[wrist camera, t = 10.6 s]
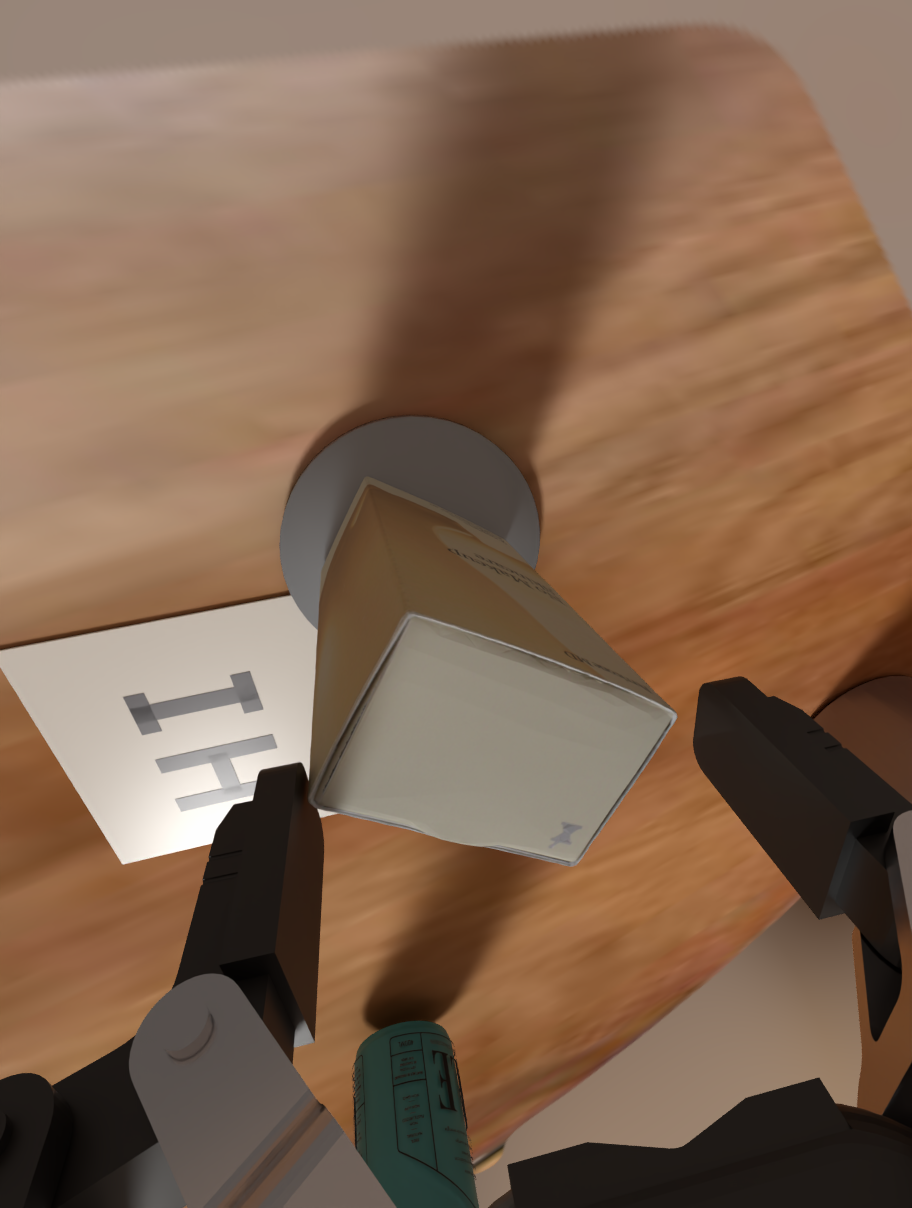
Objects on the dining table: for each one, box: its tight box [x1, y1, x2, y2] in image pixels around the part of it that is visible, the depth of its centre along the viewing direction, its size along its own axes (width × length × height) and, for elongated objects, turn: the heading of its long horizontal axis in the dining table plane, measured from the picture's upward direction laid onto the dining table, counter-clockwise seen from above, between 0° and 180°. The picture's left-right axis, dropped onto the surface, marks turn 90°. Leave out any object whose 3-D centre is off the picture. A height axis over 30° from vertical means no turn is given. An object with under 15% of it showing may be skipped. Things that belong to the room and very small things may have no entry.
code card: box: [0, 595, 338, 864], centre depth 24 cm, size 12×12×1 cm
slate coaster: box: [280, 415, 540, 630], centre depth 22 cm, size 10×10×1 cm
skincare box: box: [307, 477, 677, 866], centre depth 16 cm, size 6×4×12 cm
